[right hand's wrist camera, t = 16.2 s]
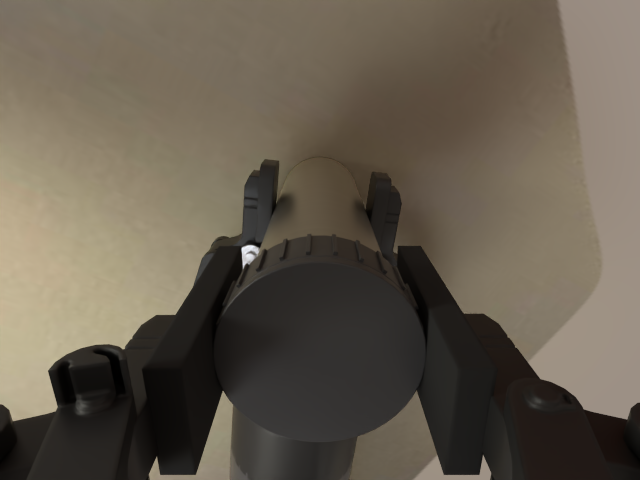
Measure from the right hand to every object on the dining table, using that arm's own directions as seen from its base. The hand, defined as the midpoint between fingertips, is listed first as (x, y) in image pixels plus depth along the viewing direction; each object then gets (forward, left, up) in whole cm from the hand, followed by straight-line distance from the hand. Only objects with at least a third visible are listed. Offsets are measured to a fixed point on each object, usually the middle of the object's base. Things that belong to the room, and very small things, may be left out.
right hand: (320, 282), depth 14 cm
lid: (0, 0, +4) cm, 4 cm away
